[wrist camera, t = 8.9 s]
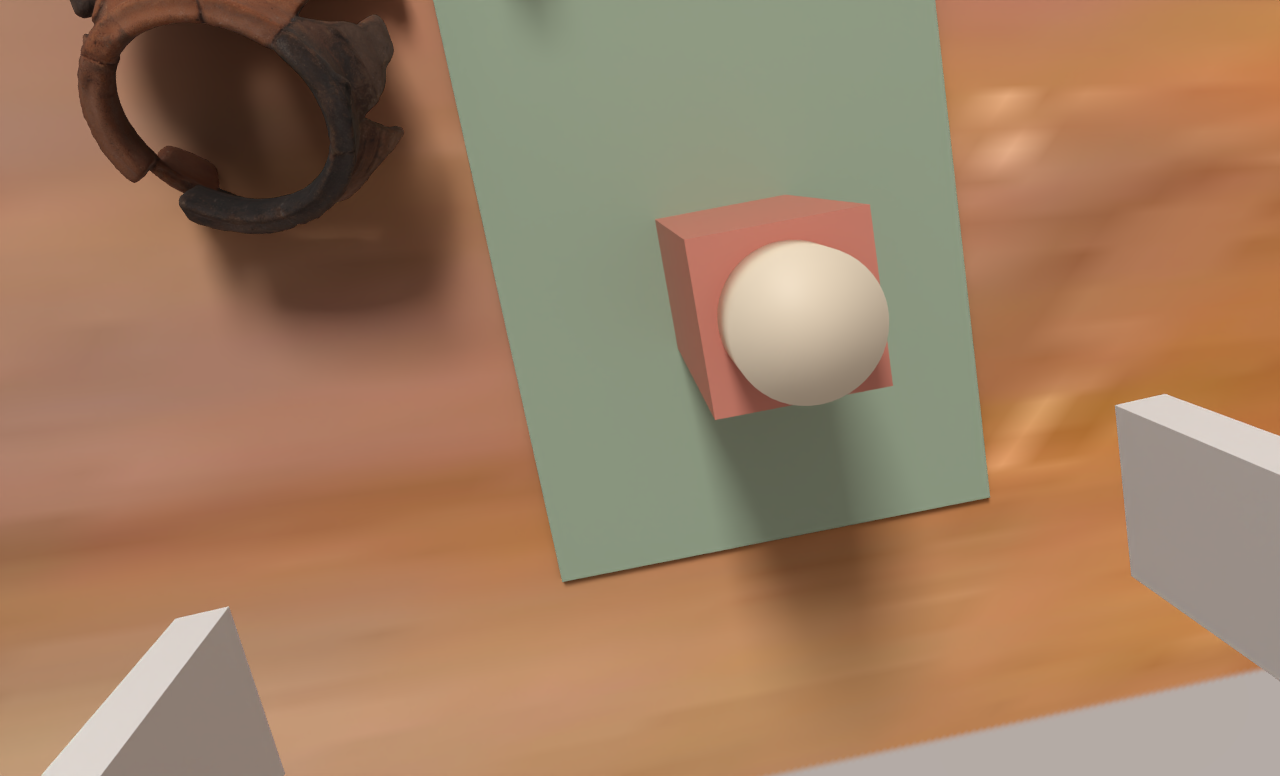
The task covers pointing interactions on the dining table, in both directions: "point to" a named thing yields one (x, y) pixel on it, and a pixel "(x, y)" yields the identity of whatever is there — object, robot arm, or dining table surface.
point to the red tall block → (777, 302)
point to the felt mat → (699, 180)
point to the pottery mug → (317, 50)
